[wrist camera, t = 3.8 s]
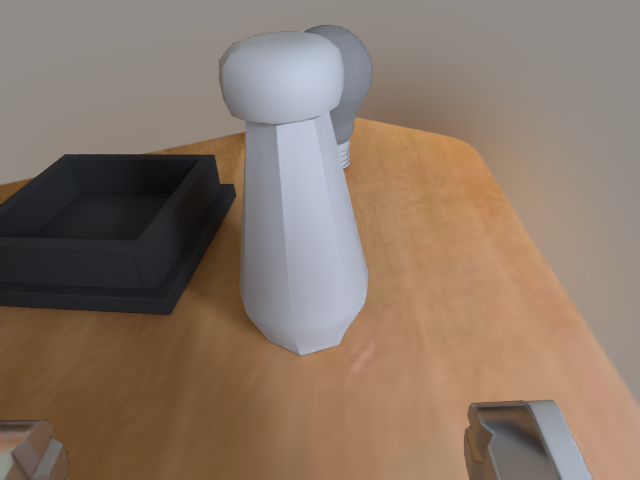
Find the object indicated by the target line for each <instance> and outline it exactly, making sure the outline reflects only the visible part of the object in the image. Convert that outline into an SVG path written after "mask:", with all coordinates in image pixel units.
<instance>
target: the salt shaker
mask: <svg viewBox="0 0 640 480" xmlns="http://www.w3.org/2000/svg"><path fill="white" fill-rule="evenodd" d="M219 82H220V86H221V90H222V95H223V99H224V101H225V103H226V105H227V108H228V109H229V111H230V113H231V115H232V116H234V117H237V118H240V119H242V120H245V121H246V143H245V167H244V190H243V214H242V238H241V261H240V285H239V290H240V294H241V297H242V301H243V304H244V308H245V310H246V313H247V315H248V317H249V318H250V319H251V320H252V322H253V323H254V324H255V325H256V326H257V328H258V329H259V330H260V331H261V332H262V333H263V335H264V336H265V337H266V338H267V339H268V340H269V341H270V342H272V343H274V344H277V345H279V346H281V347H283V348H285V349H287V350H289V351H291V352H294V353H296V354H298V355H300V356H302V355H305V354H309V353H312V352H316V351H320V350H323V349H327V348H330V347H334V346H337V345H339V344H340V342H341V340H342V338H343V336H344V333H345V331H346V330H347V328H348V327H349V326H350V324H351V323H352V321H353V320H354V319H355V317H356V316H357V314H358V313H359V311H360V310H361V309H362V307H363V306H364V304H365V299H366V293H367V285H368V277H369V275H368V271H367V267H366V263H365V259H364V255H363V250H362V246H361V242H360V238H359V234H358V230H357V225H356V221H355V217H354V213H353V209H352V205H351V200H350V196H349V192H348V188H347V184H346V180H345V175H344V171H343V167H342V163H341V159H340V155H339V150H338V146H337V142H336V138H335V134H334V130H333V126H332V121H331V117H330V113H329V111H330V110H332V109H334V108H335V107H337V106H338V104H339V101H340V98H341V95H342V91H343V88H344V67H343V62H342V57H341V53H340V50H339V49H338V48H337V47H336V46H335V45H334V44H333V43H332V42H331V41H330V40H329V39H327V38H325V37H324V36H322V35H317V34H312V33H306V32H298V31H297V32H296V31H282V32H272V33H265V34H259V35H254V36H252V37H249V38H246V39H244V40H241V41H238V42H236V43H233V44H232V45H231V46H230V47H229V48H228V49H227V50H226V51H225V53H224V54H223V56H222V57H221V59H220V60H219Z"/></svg>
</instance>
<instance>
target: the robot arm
mask: <svg viewBox="0 0 640 480" xmlns="http://www.w3.org/2000/svg"><path fill="white" fill-rule="evenodd" d="M468 419H469V423H470V426H469V427H468V428H467V429H465V435H464V456H465V461H466V467H467V471H468V475H469V480H593V478H592V476H591V474H590V472H589V470H588V468H587V466H586V464H585V461H584V459H583V457H582V455H581V453H580V451H579V449H578V447H577V445H576V442H575V440H574V438H573V436H572V434H571V432H570V430H569V428H568V425H567V423H566V421H565V419H564V417H563V415H562V413H561V411H560V408H559V406H558V405H557V404H556V403H555V402H554V401H553V400H537V401H523V400H520V401H501V402H482V403H471V404H470V406H469V409H468ZM54 431H55V429H54V428H53V426H52V425H51V423H50V422H49V420H6V421H0V480H66V479H67V474H68V468H69V458H68V452H67V450H66V448H65V446H64V444H62V443H61V442H59V441H57V440H56V439H54V438H52V436H53V434H54Z"/></svg>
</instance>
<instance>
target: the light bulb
mask: <svg viewBox="0 0 640 480" xmlns="http://www.w3.org/2000/svg"><path fill="white" fill-rule="evenodd" d="M305 32H306V33H312V34H317V35H322V36H324V37H325V38H327V39H329V40H330V41H331V42H332V43H333V44H334V45H335V46H336V47H337V48H338V49H339V50H340V53H341V57H342V62H343V67H344V88H343V91H342V95H341V98H340V101H339V104H338V106H337V107H335V108H334V109H332V110H330V111H329V113H330V117H331V121H332V126H333V130H334V134H335V138H336V142H337V146H338V150H339V155H340V159H341V163H342V167H343V169H344V168H346V167H347V166H348V165H349V164H350V156H349V150H348V149H349V138H350V136H351V135H352V132H353V127H354V119H355V117H356V115H357V113H358V111H359V108H360V107H361V105H362V103H363V102H364V99H365V97H366V96H367V94H368V92H369V89H370V86H371V82H372V62H371V59H370V56H369V53H368V52H367V49H366V48H365V46H364V45H363V43H362V42H361V41H360V40H359V39H358V38H357V37H356V36H355V35H354V34H353V33H352V32H350V31H349V30H347V29H345V28H342V27H339V26H334V25H320V26H317V27H313V28H310V29H308V30H306V31H305Z"/></svg>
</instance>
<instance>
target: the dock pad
mask: <svg viewBox="0 0 640 480" xmlns="http://www.w3.org/2000/svg"><path fill="white" fill-rule="evenodd" d="M235 197H236V193H235V188H234V184H220V181H219V176H218V171H217V166H216V161H215V156H214V155H144V154H136V155H134V154H124V155H123V154H120V155H119V154H115V155H113V154H93V155H92V154H85V155H84V154H76V155H74V154H72V155H71V154H68V155H67V154H66V155H64V156H62V157H61V158H60V159H59V160H57V161H56V162H55V163H53V164H52V165H51V166H50V167H48V168H47V169H46V170H44V171H43V172H42V173H41V174H39V175H38V176H37V177H35V178H34V179H33V180H32V181H30V182H29V183H28V184H26V185H25V186H24V187H23V188H21V189H20V190H19V191H17V192H16V193H15V194H14V195H12V196H11V197H10V198H8V199H7V200H6V201H5V202H3V203H2V204H1V205H0V306H17V307H36V308H54V309H73V310H92V311H111V312H129V313H148V314H167V315H169V314H171V312H172V310H173V308H174V307H175V305H176V303H177V301H178V299H179V298H180V296H181V294H182V292H183V291H184V289H185V287H186V285H187V283H188V282H189V280H190V278H191V276H192V274H193V273H194V271H195V269H196V267H197V265H198V264H199V262H200V260H201V258H202V256H203V255H204V253H205V251H206V249H207V247H208V246H209V244H210V242H211V240H212V239H213V237H214V235H215V233H216V231H217V230H218V228H219V226H220V224H221V222H222V221H223V219H224V217H225V215H226V213H227V212H228V210H229V208H230V206H231V204H232V203H233V201H234V199H235Z"/></svg>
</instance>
